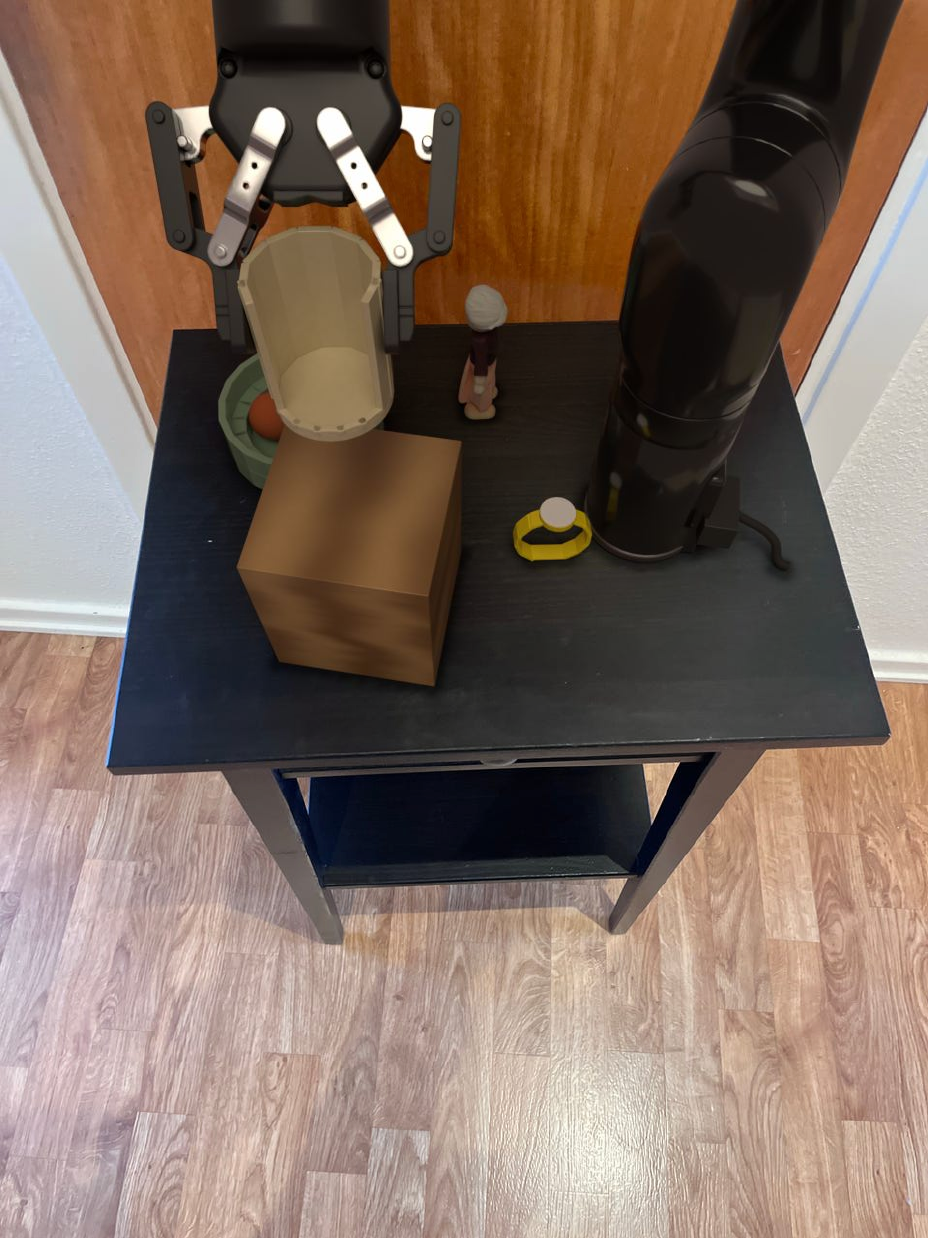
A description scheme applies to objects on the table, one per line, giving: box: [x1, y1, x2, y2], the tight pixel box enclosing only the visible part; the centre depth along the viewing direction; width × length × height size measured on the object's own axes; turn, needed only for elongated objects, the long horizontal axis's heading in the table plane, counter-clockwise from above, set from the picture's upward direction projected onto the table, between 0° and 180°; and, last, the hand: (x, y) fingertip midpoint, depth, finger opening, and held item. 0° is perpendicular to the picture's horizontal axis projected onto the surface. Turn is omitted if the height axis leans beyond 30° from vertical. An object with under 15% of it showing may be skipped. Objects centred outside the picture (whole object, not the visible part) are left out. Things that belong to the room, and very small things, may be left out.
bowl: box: [217, 352, 385, 490], centre depth 73 cm, size 13×13×5 cm
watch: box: [512, 496, 593, 562], centre depth 67 cm, size 6×3×6 cm, turn 95°
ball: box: [249, 392, 285, 440], centre depth 73 cm, size 4×4×4 cm
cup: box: [237, 225, 395, 442], centre depth 42 cm, size 6×6×8 cm
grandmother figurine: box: [457, 284, 509, 420], centre depth 71 cm, size 8×4×13 cm, turn 2°
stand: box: [236, 425, 463, 687], centre depth 61 cm, size 12×12×14 cm
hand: (319, 352), depth 41 cm, fingers closed on cup, 6 cm apart
